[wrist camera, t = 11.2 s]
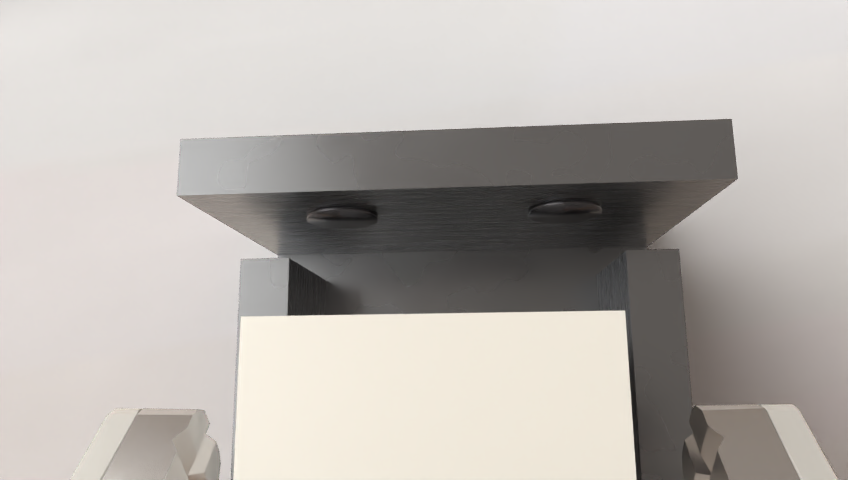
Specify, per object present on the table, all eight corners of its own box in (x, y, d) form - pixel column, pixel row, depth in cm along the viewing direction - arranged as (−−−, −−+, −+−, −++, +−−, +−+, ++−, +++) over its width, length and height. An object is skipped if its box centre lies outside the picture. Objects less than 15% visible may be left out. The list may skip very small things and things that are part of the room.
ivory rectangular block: (369, 491, 19) (225, 648, 8) (370, 347, 20) (240, 316, 9) (549, 492, 18) (649, 658, 8) (543, 345, 19) (625, 310, 9)
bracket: (275, 631, 19) (136, 807, 11) (288, 223, 22) (180, 138, 14) (667, 639, 18) (805, 835, 11) (636, 214, 21) (732, 119, 13)
